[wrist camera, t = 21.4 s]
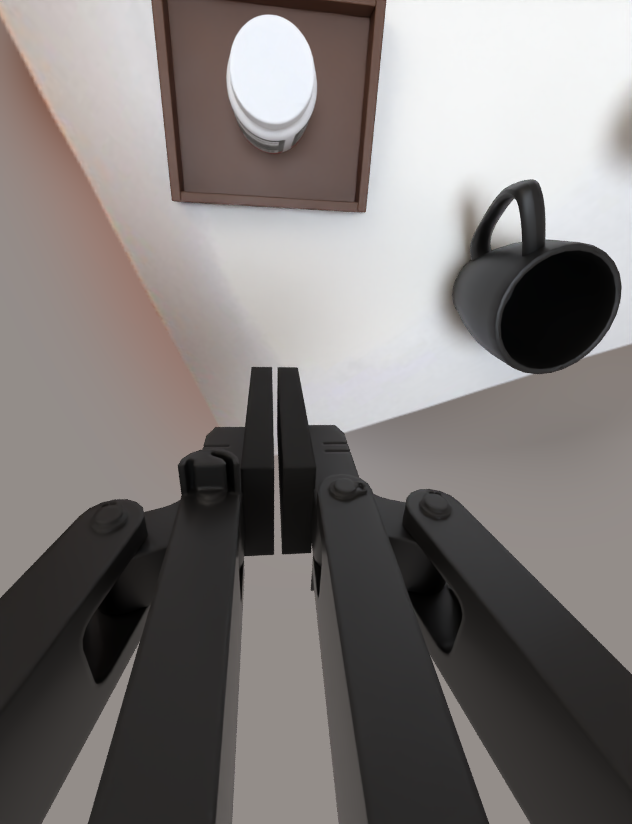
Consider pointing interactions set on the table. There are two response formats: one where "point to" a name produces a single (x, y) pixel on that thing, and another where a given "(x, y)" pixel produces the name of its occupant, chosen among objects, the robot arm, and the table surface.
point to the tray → (217, 125)
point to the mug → (535, 290)
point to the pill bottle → (271, 83)
